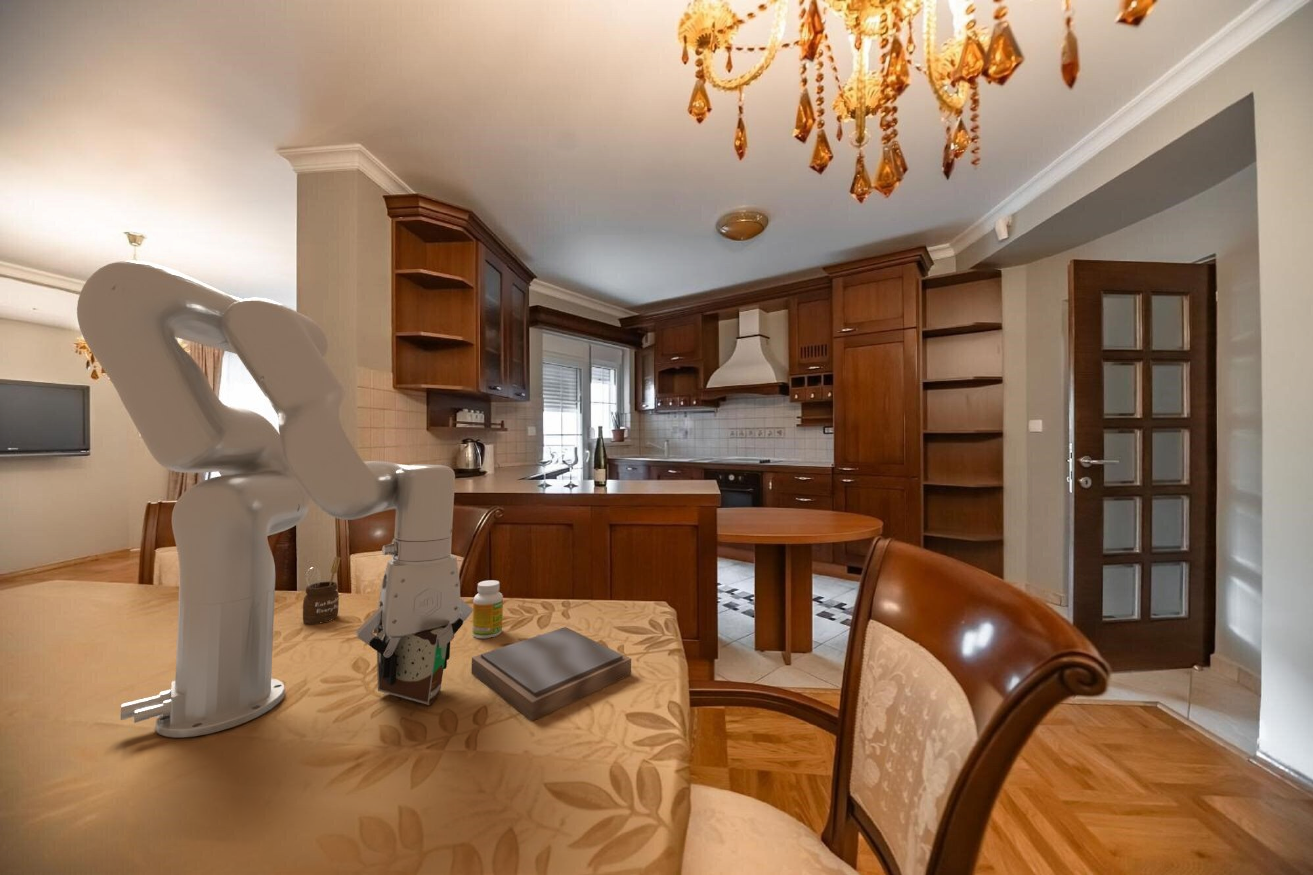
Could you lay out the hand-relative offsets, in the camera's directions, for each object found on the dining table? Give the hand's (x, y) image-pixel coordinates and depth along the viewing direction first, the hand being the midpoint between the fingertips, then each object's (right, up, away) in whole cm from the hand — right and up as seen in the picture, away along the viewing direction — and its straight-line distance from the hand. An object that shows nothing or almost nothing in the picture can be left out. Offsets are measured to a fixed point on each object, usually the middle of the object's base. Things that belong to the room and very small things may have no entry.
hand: (415, 672), depth 66 cm
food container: (0, -3, +1) cm, 3 cm away
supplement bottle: (+2, -4, +22) cm, 23 cm away
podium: (+18, -4, +7) cm, 20 cm away
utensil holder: (-34, -3, +28) cm, 44 cm away
